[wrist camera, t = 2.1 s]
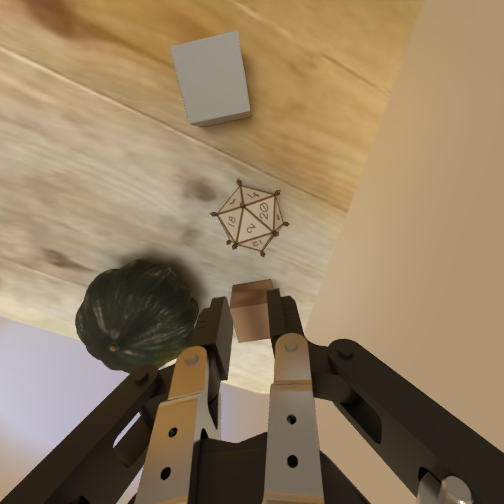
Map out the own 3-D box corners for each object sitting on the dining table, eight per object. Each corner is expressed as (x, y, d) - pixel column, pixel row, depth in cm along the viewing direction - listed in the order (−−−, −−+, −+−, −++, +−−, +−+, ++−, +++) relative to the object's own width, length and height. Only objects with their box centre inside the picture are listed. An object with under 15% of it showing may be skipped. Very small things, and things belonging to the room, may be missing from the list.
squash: (127, 373, 38) (144, 428, 26) (53, 303, 34) (29, 328, 21) (196, 308, 45) (236, 327, 32) (141, 242, 40) (164, 233, 27)
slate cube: (201, 127, 29) (189, 123, 24) (186, 66, 27) (169, 46, 21) (251, 116, 28) (250, 110, 23) (241, 53, 26) (237, 30, 21)
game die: (242, 194, 36) (220, 154, 26) (298, 210, 34) (296, 173, 24) (219, 251, 35) (188, 231, 25) (276, 271, 33) (264, 258, 23)
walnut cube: (240, 315, 40) (238, 342, 35) (232, 284, 38) (229, 308, 32) (276, 310, 40) (280, 337, 34) (271, 278, 37) (274, 302, 32)
